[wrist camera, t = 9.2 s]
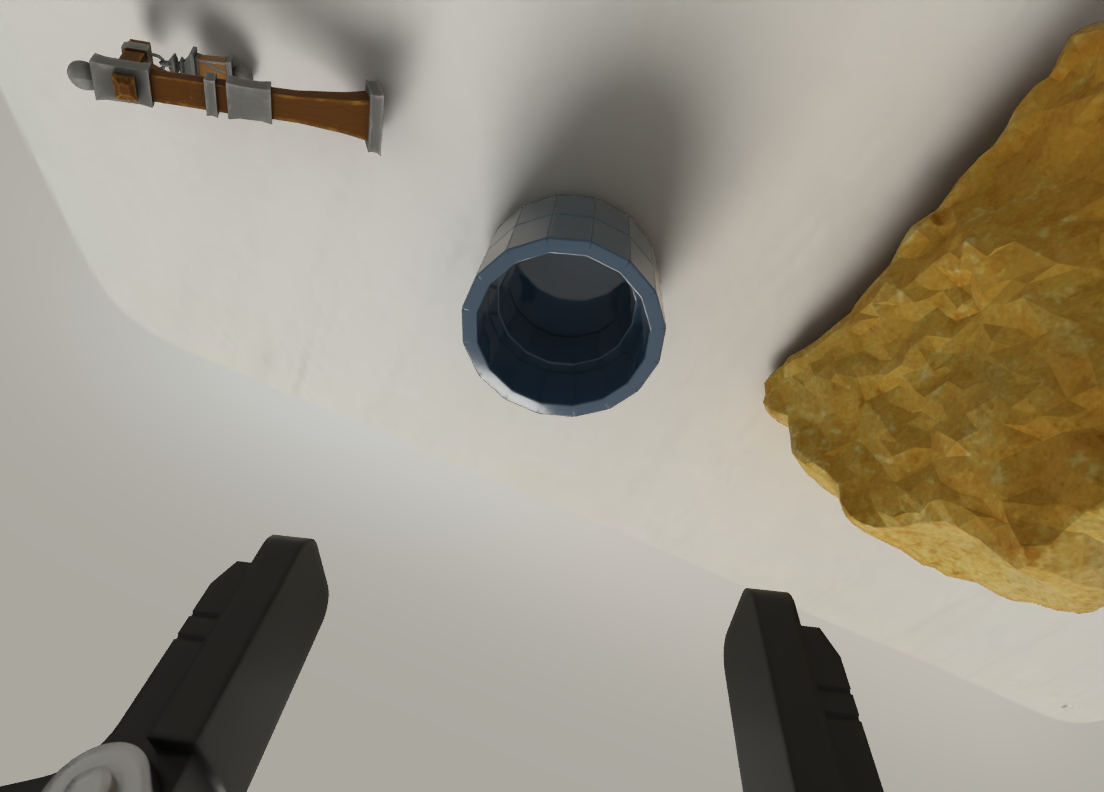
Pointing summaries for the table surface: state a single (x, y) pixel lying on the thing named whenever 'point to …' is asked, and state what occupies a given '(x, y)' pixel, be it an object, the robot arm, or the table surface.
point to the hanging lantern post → (227, 91)
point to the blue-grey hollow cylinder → (566, 308)
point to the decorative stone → (981, 364)
